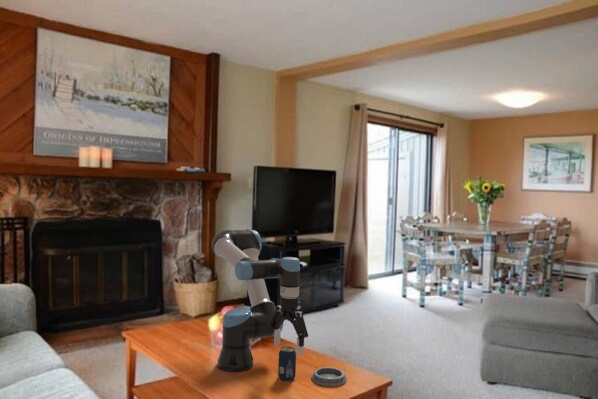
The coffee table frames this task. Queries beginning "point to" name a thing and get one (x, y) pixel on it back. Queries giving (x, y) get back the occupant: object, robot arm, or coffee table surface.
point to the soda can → (287, 364)
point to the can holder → (329, 377)
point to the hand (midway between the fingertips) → (288, 349)
